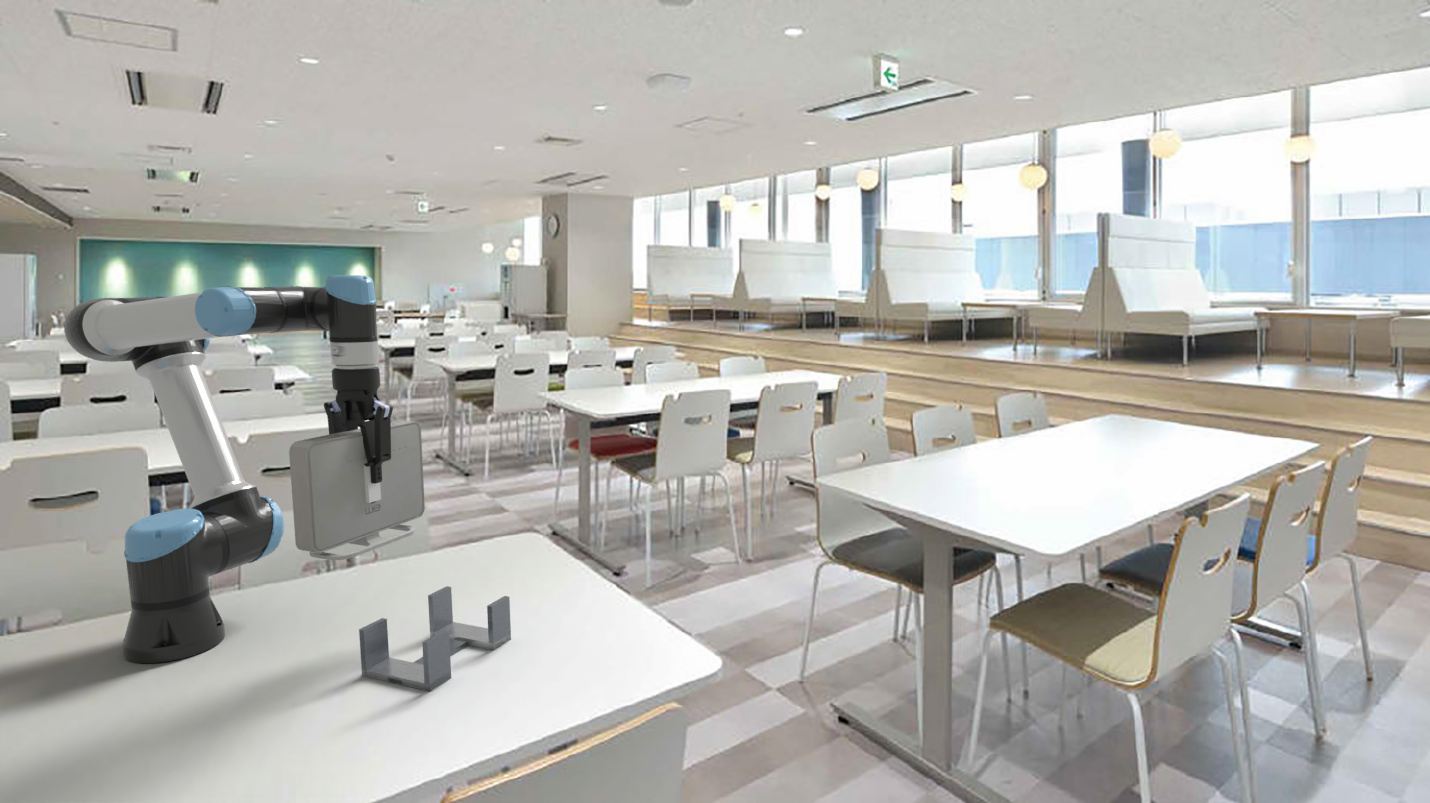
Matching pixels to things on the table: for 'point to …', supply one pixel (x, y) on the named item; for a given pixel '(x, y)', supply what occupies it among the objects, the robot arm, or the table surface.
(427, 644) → the stand
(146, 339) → the robot arm
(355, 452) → the network device
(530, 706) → the table surface
